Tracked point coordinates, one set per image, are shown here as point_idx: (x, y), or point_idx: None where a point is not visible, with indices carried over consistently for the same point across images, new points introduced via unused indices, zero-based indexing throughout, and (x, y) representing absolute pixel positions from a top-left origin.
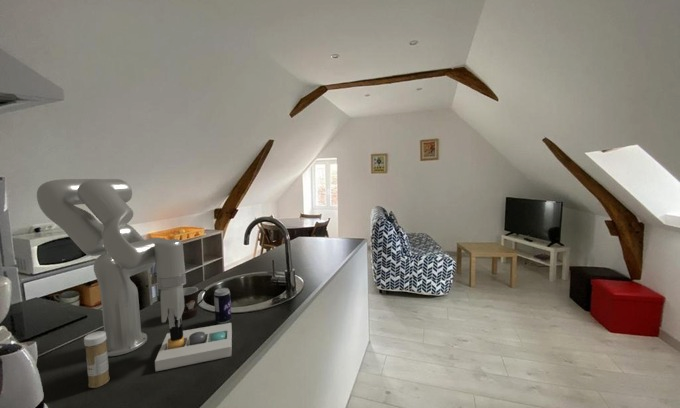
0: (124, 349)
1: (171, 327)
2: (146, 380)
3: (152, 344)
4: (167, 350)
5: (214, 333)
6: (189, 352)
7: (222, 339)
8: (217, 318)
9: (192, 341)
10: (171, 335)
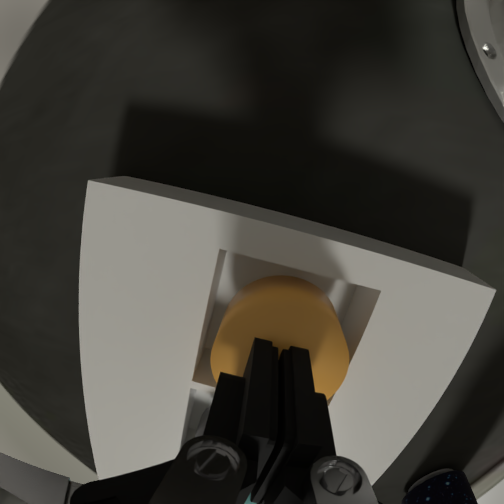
0: (482, 27)
1: (158, 464)
2: (74, 135)
3: (493, 180)
4: (199, 274)
5: (248, 500)
6: (104, 380)
7: None
8: (433, 492)
9: (202, 430)
10: (249, 373)
